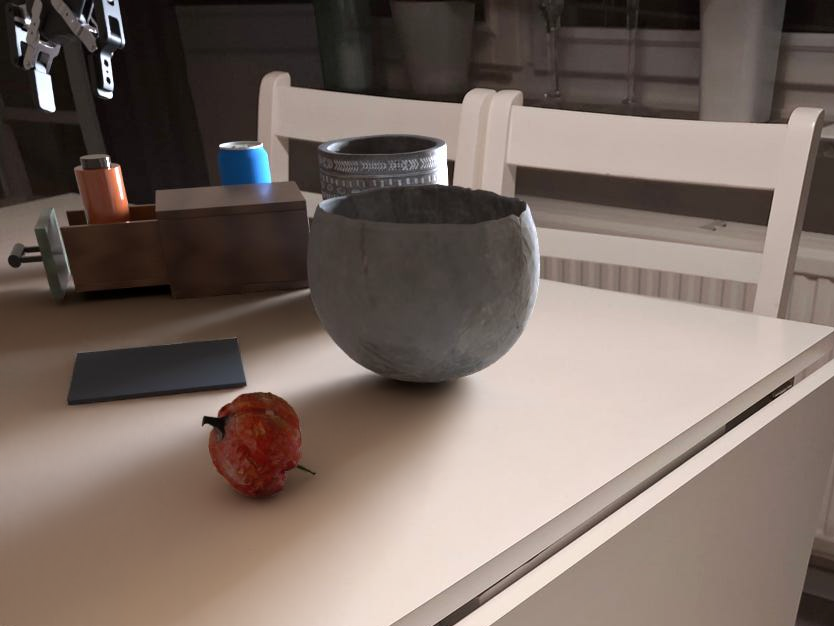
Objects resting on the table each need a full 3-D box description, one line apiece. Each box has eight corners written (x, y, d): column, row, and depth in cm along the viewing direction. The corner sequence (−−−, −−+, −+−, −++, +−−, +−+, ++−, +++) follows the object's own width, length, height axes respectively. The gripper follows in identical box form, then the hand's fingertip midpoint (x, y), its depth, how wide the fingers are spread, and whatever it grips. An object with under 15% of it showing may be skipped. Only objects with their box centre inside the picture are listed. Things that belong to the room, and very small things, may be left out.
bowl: (495, 425, 85) (493, 231, 75) (281, 399, 90) (255, 216, 81) (564, 350, 100) (569, 181, 90) (377, 332, 105) (364, 171, 96)
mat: (68, 405, 91) (66, 400, 90) (77, 356, 101) (76, 352, 101) (247, 386, 93) (246, 381, 93) (237, 341, 104) (237, 337, 104)
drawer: (15, 302, 114) (-6, 231, 109) (25, 277, 123) (6, 210, 118) (192, 287, 118) (178, 218, 113) (189, 263, 126) (177, 198, 122)
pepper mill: (97, 277, 118) (69, 161, 110) (99, 267, 121) (72, 154, 114) (141, 274, 118) (117, 158, 111) (142, 263, 122) (118, 151, 115)
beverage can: (275, 237, 141) (262, 139, 134) (282, 247, 136) (269, 146, 129) (228, 241, 140) (212, 142, 132) (235, 251, 135) (218, 150, 127)
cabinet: (172, 299, 117) (155, 211, 112) (171, 272, 127) (155, 190, 121) (316, 286, 120) (306, 200, 115) (304, 261, 130) (294, 180, 124)
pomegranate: (282, 488, 81) (167, 434, 75) (330, 412, 78) (215, 349, 72) (304, 536, 76) (184, 483, 70) (356, 457, 73) (236, 394, 67)
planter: (354, 311, 112) (339, 159, 103) (317, 281, 122) (301, 140, 113) (470, 294, 116) (467, 147, 107) (425, 266, 126) (418, 130, 117)
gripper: (-28, -69, 105) (-1, 107, 109) (71, -106, 99) (96, 82, 103) (30, -41, 111) (54, 124, 116) (127, -74, 105) (148, 102, 110)
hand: (74, 104), depth 109 cm, fingers open, 8 cm apart
